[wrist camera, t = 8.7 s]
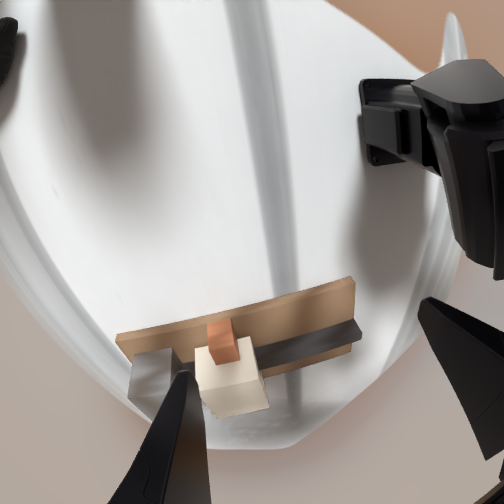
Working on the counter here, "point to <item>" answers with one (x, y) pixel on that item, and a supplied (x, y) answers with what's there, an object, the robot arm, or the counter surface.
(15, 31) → the tape measure
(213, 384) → the sleeve
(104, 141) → the counter surface
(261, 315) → the board
